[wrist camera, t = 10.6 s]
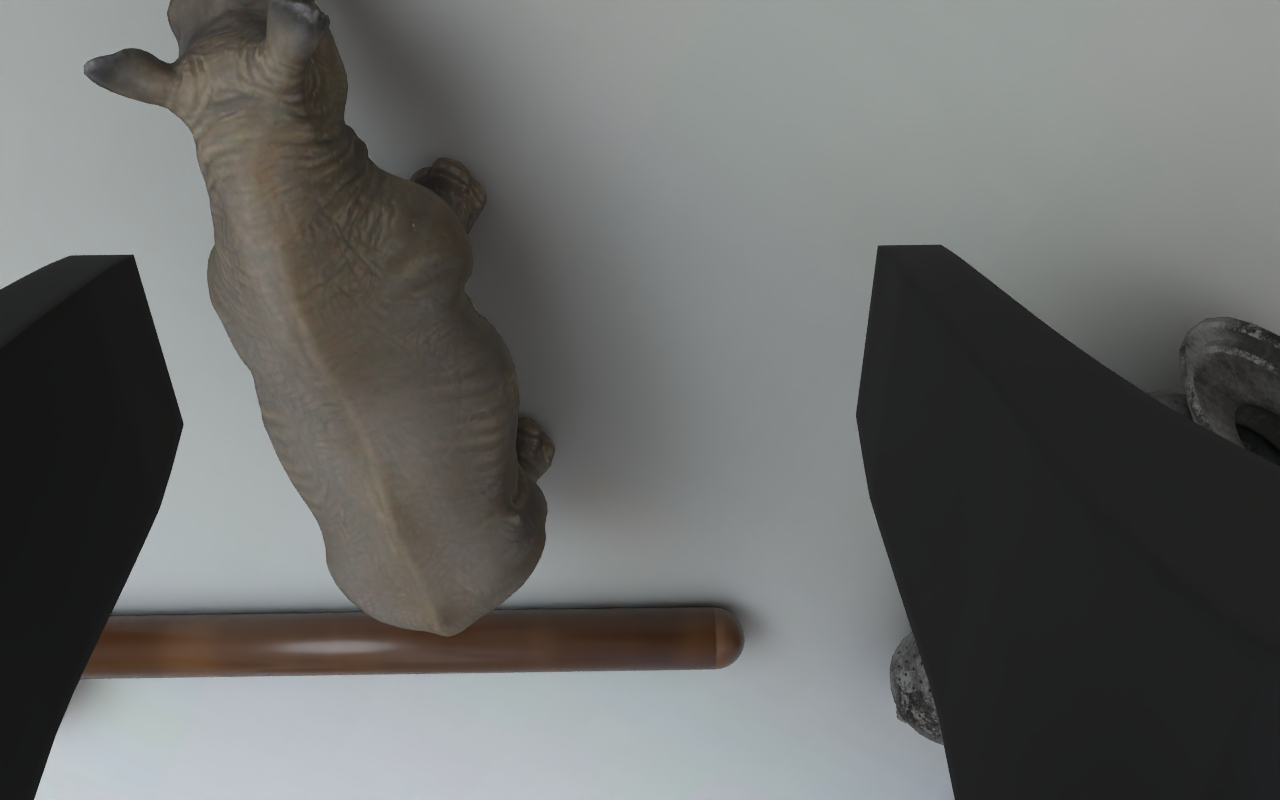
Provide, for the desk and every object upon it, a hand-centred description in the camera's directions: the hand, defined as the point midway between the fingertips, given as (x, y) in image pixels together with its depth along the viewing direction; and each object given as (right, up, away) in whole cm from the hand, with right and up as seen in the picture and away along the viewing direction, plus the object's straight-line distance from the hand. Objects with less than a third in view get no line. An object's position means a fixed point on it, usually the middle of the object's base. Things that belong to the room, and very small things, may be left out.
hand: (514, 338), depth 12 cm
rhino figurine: (-3, +3, +10) cm, 11 cm away
